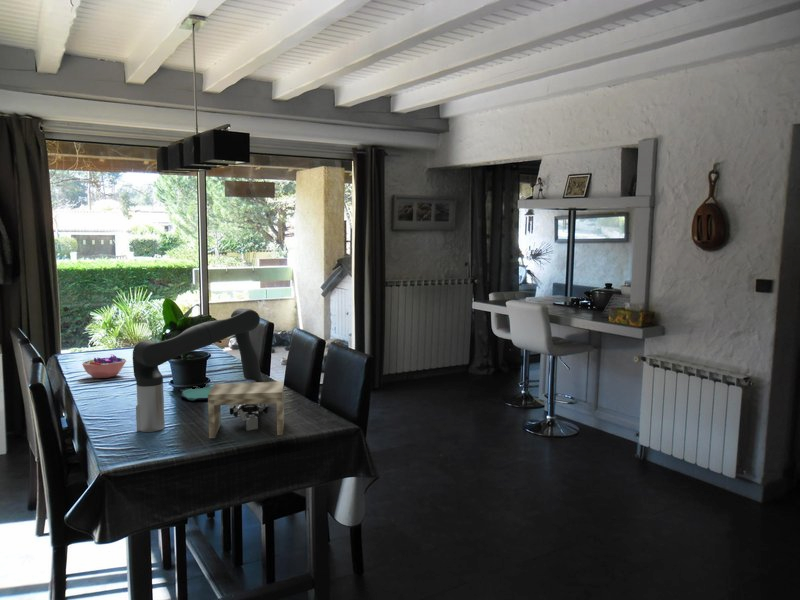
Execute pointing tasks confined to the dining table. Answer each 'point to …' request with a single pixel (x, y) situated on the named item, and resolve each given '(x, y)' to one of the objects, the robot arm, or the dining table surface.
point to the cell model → (104, 366)
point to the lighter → (249, 421)
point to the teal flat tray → (196, 393)
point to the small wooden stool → (244, 400)
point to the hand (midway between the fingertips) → (247, 414)
